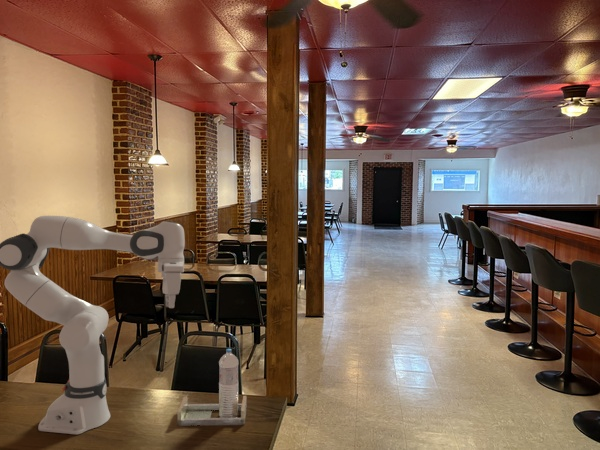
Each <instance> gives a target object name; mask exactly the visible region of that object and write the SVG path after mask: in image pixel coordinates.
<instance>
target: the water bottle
mask: <svg viewBox="0 0 600 450" xmlns="http://www.w3.org/2000/svg"><path fill="white" fill-rule="evenodd" d="M225 351H226V353H224V354H223V355H222V356H221V357H220V359H219V361H218V365H219V370H218V371H219V378H218V379H219V380H218V381H219V382H218V389H219V390H218V402H219V403H218V404H219V411H218V416H219V418H238V415H239V410H238V404H239V359H238V357H237V356H236V355H235V354H233V352H232V349H231V348H226V350H225Z"/></svg>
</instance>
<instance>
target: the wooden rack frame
mask: <svg viewBox="0 0 600 450" xmlns="http://www.w3.org/2000/svg"><path fill="white" fill-rule="evenodd" d="M241 401H242V402H241V403H238V411H240V417H237V418H220V417H212V412H213V410H214V411H215V410H219V403H188V396H187V395H186V396H183V398H182V400H181V402H180V405H179V407H178V409H177V412H176V413H177V414H176V415H177V426H178V427H185V426H186V427H189V426H190V427H191V425H192V426H193V425H194V426H197V425H200V426H244V425H245V424H246V423H245V422H246V414H247V395H243V396H242V400H241ZM211 410H212V411H211ZM194 426H193V427H194ZM197 427H198V426H197Z"/></svg>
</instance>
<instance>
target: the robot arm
mask: <svg viewBox="0 0 600 450" xmlns="http://www.w3.org/2000/svg"><path fill="white" fill-rule="evenodd" d="M185 238H186V237H185V230H184V227H183V225H181V224H180V223H178V222H175V221H170V220H163V221H162V222H160V223H158V224H157V225H155V226H152V227H149V228H146V229H141V230H138V231H137V232H134V233H133V234H126V233H121V232H120V233H119V232H114V231H110V230H108V229H105V228H102V227H100V226H99V225H97V224H94V223H93V222H91V221H88V220H85V219H81V218H77V217H71V216H65V215H62V216H61V215H40V216H38V217H35V219H33V221H32V222H31V225H30V228H29V232H27V233H20V234H17V235H14V236H11V237H8V238H6V239H4V240H3V241H2V242H0V266H1V267H2V268H3V269H5V270H9V273H8V274H7V275H6V277H5V280H4V283H3V284H4V287H5V289H6V290H7V291H8V292H9V293H10V294H11V296H13V297H14V298H15V299H16V300H17V301H18V302H19V303H21V304H22V305H23V306H25V307H26V308H27V309H29V310H30V311H32V312H33V313H35V314H36V315H37V316H39V317H40V318H41V319H43V320H45V321H48V322H53V323H56V324H59V325H62V329H61V330H60V332H59V335H58V337H59V338H58V340H59V344H60V345H61V347H62V348H63V349H64V350H65V353H66V357H67V361H68V370H69V371H68V374H69V378H68V380H67V382H66V383H65V384H64V387H62V389H61V391H62V392H61V393H62V394H61V395H60V396H59V397H57V398H56V399H55V400H54V401H53V402H52V403H51V404H50V405H49V406H48V409H47V410H46V415H45V416H44V417H43V418H42V419H41V420H40V422H39V424H38V428H37V429H38V431H39V432H49V433H58V434H59V433H60V434H69V435H80V434H83V433H85V432H87V431H90V430H93V429H94V428H95V429H96V428H98V427H101V426H103V425H104V424H106V423H107V422H108V421H109V420H110V419H111V412H110V411H109V406H108V402H107V396H106V395H107V379H106V377H105V356H104V355H103V354H102V351H101V347H100V342H99V341H100V337H101V335H102V334H103V333H104V332H105V331H106V330H107V327H108V324H109V316H110V315H109V314H108V313H109V312H108V311H107V310H106V309H105V308H104V307H102V306H99V305H95V304H92V303H90V302H87V301H85V300H83V299H80V298H78V297H77V296H74V295H73V294H72V293H69V292H68V291H66V290H65V289H64V288H62V287H61V286H60V285H58V284H57V283H55V282H54V281H53V280H51V279H50V278H49V277H47V276H45V275H44V274H43V273H42V272H41V271H40V269H41V268H42V267H43V266H44V264H45V261H46V259H47V257H48V255H49V253H50V248H55V249H61V250H69V251H88V250H89V251H90V250H111V251H119V252H126V253H131V254H134V255H136V256H137V257H140V258H142V259H144V260H146V261H154V260H157V272H158V273H161V278H162V294H165V295H164V296H165V297H164V298H165V307H166V308H169V309H174V308H175V302H176V296H177V295H179V293H180V290H181V282H182V273H184V272H185V256H184V250H185V245H186V240H185ZM63 392H64V393H63Z"/></svg>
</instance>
